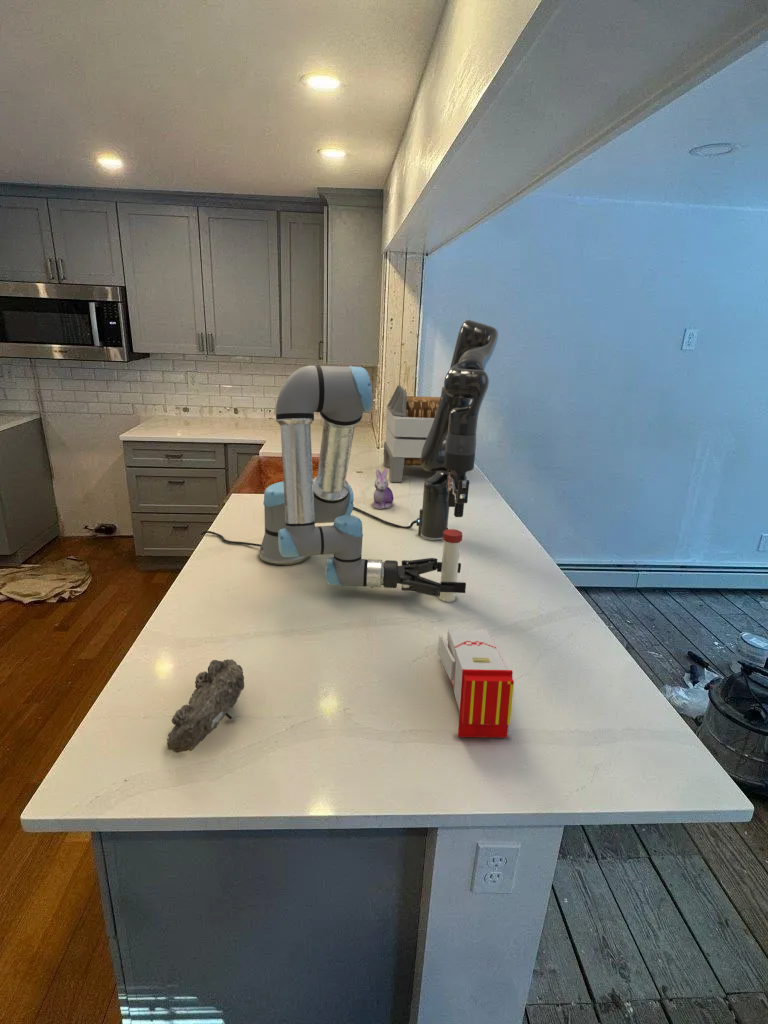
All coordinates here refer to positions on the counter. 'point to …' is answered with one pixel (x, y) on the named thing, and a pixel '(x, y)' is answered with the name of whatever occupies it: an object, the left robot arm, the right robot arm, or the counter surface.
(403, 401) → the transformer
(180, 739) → the fossil
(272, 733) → the counter surface
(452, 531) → the lid
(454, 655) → the toy
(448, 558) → the jar
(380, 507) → the figurine
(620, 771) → the counter surface
